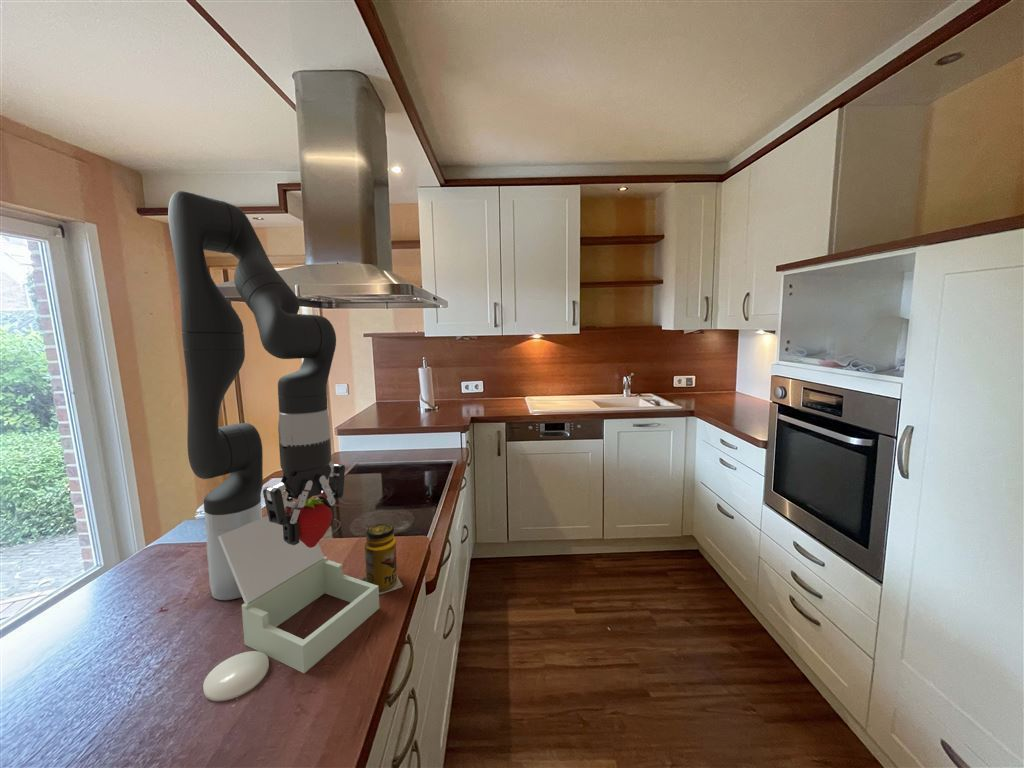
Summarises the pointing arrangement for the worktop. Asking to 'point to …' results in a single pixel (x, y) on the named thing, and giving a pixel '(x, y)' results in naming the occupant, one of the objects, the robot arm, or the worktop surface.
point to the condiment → (381, 558)
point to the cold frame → (291, 593)
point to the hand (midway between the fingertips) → (310, 533)
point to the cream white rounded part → (236, 676)
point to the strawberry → (313, 521)
